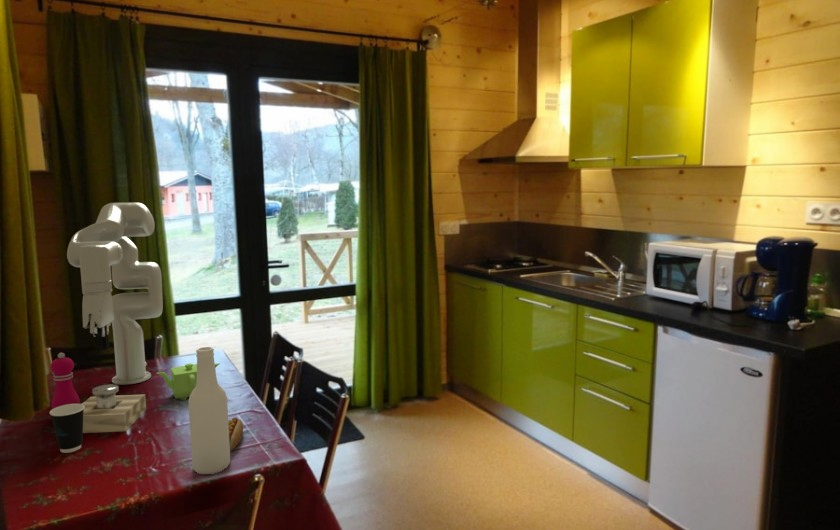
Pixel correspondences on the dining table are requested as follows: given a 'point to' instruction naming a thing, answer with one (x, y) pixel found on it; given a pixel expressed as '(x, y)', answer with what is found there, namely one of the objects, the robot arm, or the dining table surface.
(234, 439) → the food
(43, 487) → the dining table surface
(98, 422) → the block
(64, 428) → the dixie cup
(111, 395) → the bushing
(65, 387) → the pepper mill
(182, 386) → the teapot
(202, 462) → the alcohol
